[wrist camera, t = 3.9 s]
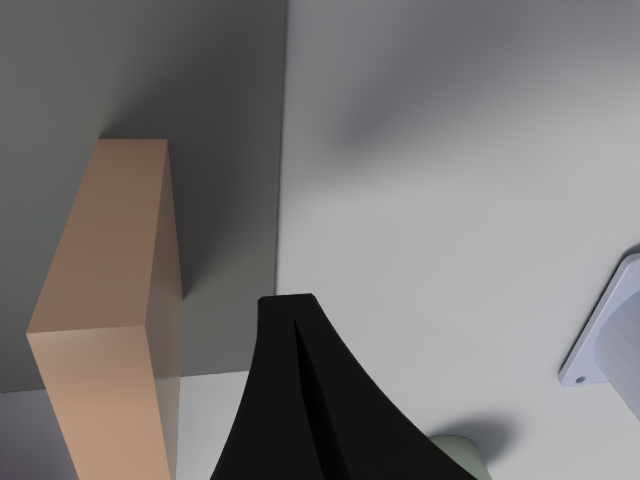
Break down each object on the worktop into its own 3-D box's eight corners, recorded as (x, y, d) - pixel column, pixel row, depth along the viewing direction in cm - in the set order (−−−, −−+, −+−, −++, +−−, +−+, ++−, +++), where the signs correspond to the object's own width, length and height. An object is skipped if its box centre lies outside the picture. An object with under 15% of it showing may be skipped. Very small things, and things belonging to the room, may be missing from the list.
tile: (167, 138, 14) (144, 325, 8) (183, 300, 17) (174, 505, 12) (91, 138, 14) (15, 334, 8) (122, 303, 17) (85, 517, 12)
